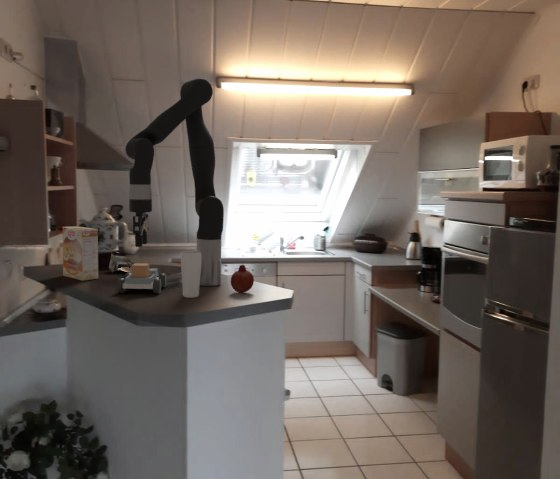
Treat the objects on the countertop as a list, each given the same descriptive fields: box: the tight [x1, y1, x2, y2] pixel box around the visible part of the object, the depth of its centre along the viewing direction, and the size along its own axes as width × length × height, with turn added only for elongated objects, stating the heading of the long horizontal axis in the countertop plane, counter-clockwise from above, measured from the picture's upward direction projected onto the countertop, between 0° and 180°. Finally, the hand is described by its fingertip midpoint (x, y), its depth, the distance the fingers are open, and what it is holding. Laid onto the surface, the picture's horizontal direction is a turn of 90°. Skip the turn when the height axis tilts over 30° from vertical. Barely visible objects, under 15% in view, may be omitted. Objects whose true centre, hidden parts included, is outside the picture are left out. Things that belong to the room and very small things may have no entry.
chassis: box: [116, 267, 167, 294], centre depth 187 cm, size 14×16×6 cm
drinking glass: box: [180, 250, 201, 299], centre depth 178 cm, size 7×7×15 cm
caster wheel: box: [108, 253, 136, 273], centre depth 224 cm, size 7×11×10 cm
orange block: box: [132, 262, 151, 278], centre depth 184 cm, size 5×5×6 cm
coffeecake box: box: [61, 226, 99, 282], centre depth 208 cm, size 15×7×20 cm, turn 49°
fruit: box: [230, 264, 255, 294], centre depth 186 cm, size 8×8×10 cm
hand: (141, 245), depth 183 cm, fingers open, 8 cm apart
